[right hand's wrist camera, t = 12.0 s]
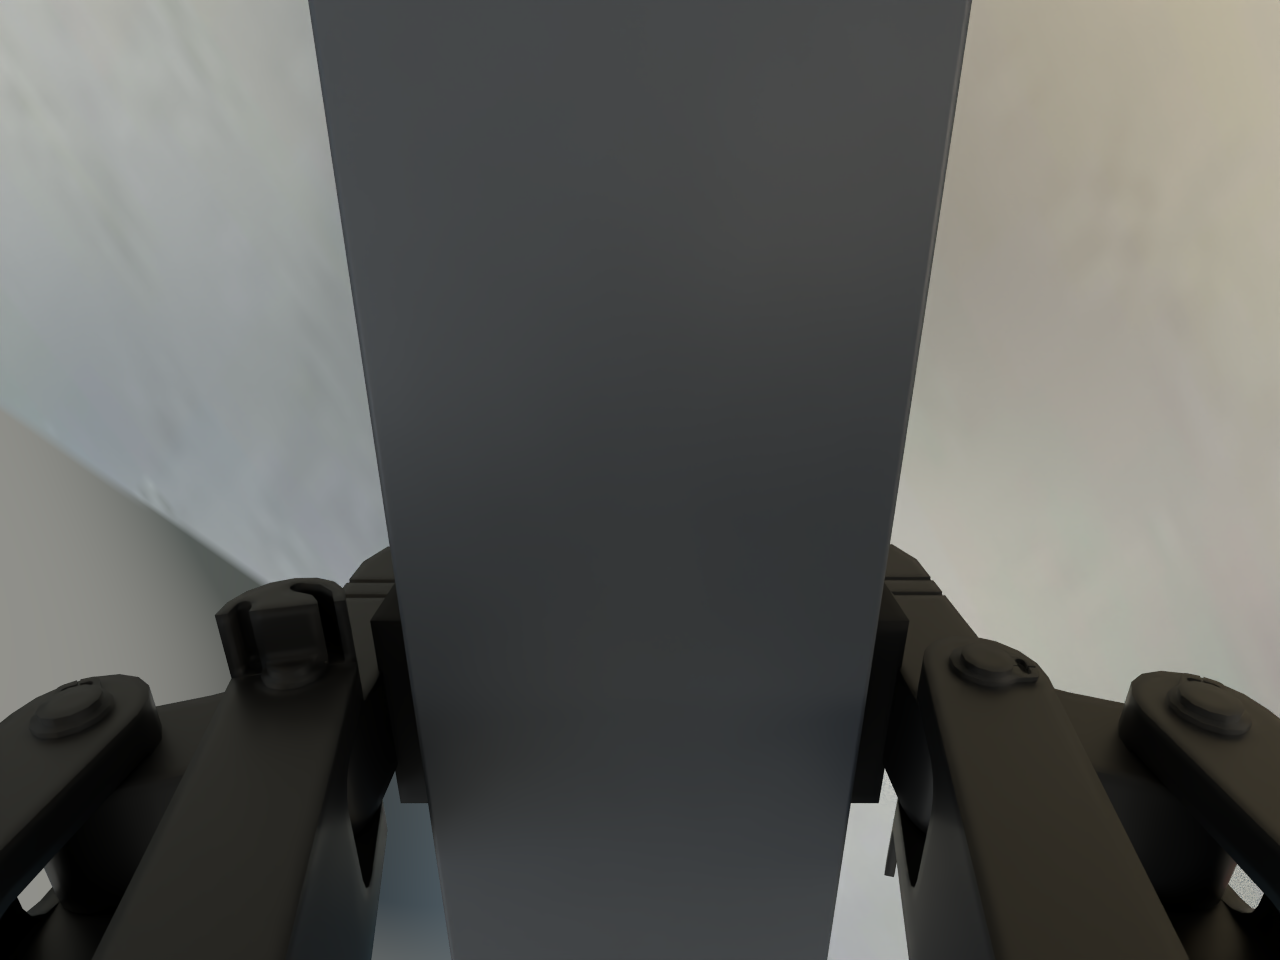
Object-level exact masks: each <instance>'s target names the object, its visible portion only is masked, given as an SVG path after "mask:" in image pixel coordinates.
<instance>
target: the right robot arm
mask: <svg viewBox="0 0 1280 960" xmlns="http://www.w3.org/2000/svg"><path fill="white" fill-rule="evenodd" d="M215 618H216V621H217V625H218V629H219V633H220V636H221V640H222V644H223V648H224V652H225V655H226V659H227V663H228V666H229V670H230V674H231V678H232V679H231V681H230V683H229V685H228V687H227V689H226V691H225V692H223V693H219V694H215V695H211V696H207V697H202V698H197V699H191V700H187V701H181V702H177V703H171V704H166V705H162V706H155V703H154V700H153V697H152V693H151V690H150V687H149V685H148V684H146V683H145V682H144V681H143V680H142V679H140V678H139V677H134V676H127V675H121V674H117V675H108V676H98V677H90V678H85V679H81V680H80V681H78V682H77V681H74V682H71V683H67V684H64V685H62V686H60V687H58V688H57V689H55V690H53V691H51V692H48V693H46V694H44V695H42V696H39V697H37V698H35V699H34V700H32V701H31V702H29V703H28V704H26V705H24V706H23V707H21V708H20V709H18V710H17V711H15V712H14V713H12V714H11V715H9V716H8V717H7V718H6V719H4V720H3V721H2V722H1V723H0V960H371V957H372V949H373V941H374V933H375V925H376V917H377V909H378V901H379V893H380V885H381V877H382V869H383V861H384V853H385V846H386V837H387V824H386V816H385V811H384V805H383V800H382V799H383V797H384V795H385V793H386V790H387V788H388V786H389V783H390V781H391V779H392V777H393V774H394V772H396V777H397V783H398V789H399V795H400V801H401V803H428V798H427V792H426V785H425V778H424V772H423V765H422V758H421V752H420V745H419V738H418V731H417V725H416V718H415V711H414V705H413V698H412V691H411V685H410V678H409V671H408V665H407V658H406V651H405V644H404V638H403V631H402V624H401V618H400V611H399V604H398V598H397V591H396V584H395V578H394V571H393V564H392V557H391V551H390V547H386V548H385V549H383V550H382V551H380V552H378V553H377V554H375V555H373V556H372V557H370V558H369V559H367V560H365V561H364V562H363V563H362V564H361V565H360V567H359V568H358V569H357V570H356V572H355V573H354V574H353V576H352V577H351V578H350V582H349V583H346V585H345V586H344V587H343V588H342V587H341V586H339V585H338V584H337V583H335V582H333V581H329V580H324V579H320V578H294V579H288V580H283V581H278V582H272V583H269V584H266V585H263V586H260V587H257V588H255V589H252V590H249V591H246V592H245V593H243V594H241V595H240V596H238V597H236V598H234V599H232V600H231V601H229V602H227V603H226V604H225V605H224V606H223V607H222V608H221V609H220V611H218V612H217V614H216V615H215ZM884 769H886V772H887V774H888V776H889V779H890V781H891V783H892V785H893V788H894V790H895V792H896V795H897V797H898V800H897V805H896V811H895V816H894V822H893V827H892V833H891V838H890V844H889V849H888V855H887V860H886V867H885V875H886V876H891V877H894V874H895V868H896V863H897V868H898V876H899V884H900V892H901V900H902V908H903V916H904V924H905V931H906V939H907V947H908V955H909V960H1280V718H1278V717H1277V716H1276V715H1274V714H1273V713H1272V712H1271V711H1269V710H1268V709H1266V708H1265V707H1263V706H1262V705H1260V704H1259V703H1257V702H1255V701H1254V700H1252V699H1251V698H1249V697H1248V696H1246V695H1245V694H1242V693H1240V692H1238V691H1235V690H1233V689H1231V688H1229V687H1226V686H1224V685H1223V684H1221V683H1220V682H1217V681H1214V680H1211V679H1208V678H1205V677H1204V678H1200V676H1197V675H1192V674H1188V673H1176V672H1166V671H1157V672H1151V673H1144V674H1141V675H1140V676H1139V677H1137V678H1136V679H1135V680H1133V681H1132V682H1131V685H1130V688H1129V691H1128V695H1127V698H1126V701H1125V703H1120V702H1114V701H1109V700H1104V699H1099V698H1094V697H1089V696H1084V695H1079V694H1074V693H1069V692H1065V691H1061V690H1057V689H1054V687H1053V685H1052V683H1051V681H1050V679H1049V677H1048V676H1047V675H1046V674H1045V672H1044V671H1043V670H1042V669H1041V668H1040V666H1039V665H1038V664H1037V663H1036V662H1034V661H1033V660H1031V659H1030V658H1028V657H1027V656H1025V655H1024V654H1022V653H1021V652H1020V651H1018V650H1015V649H1013V648H1011V647H1008V646H1006V645H1003V644H1001V643H998V642H996V641H991V640H987V639H982V638H978V637H977V635H976V634H975V633H974V632H973V630H972V629H971V628H970V626H969V625H968V624H967V623H966V621H965V620H964V619H963V618H962V616H961V615H960V614H959V612H958V611H957V610H956V609H955V607H954V606H953V605H952V604H951V602H950V601H949V600H948V599H947V597H946V596H945V595H942V591H941V590H940V588H939V587H938V586H937V585H936V583H935V582H934V581H933V580H930V576H929V574H928V573H927V572H926V571H925V569H924V568H923V567H922V566H921V564H920V563H919V562H918V561H917V559H915V558H914V557H912V556H910V555H909V554H907V553H905V552H904V551H902V550H900V549H899V548H897V547H896V546H894V545H892V544H890V546H889V553H888V559H887V566H886V573H885V579H884V586H883V593H882V599H881V606H880V612H879V619H878V626H877V632H876V639H875V646H874V652H873V659H872V665H871V672H870V679H869V685H868V692H867V698H866V705H865V712H864V718H863V725H862V732H861V738H860V745H859V751H858V758H857V765H856V771H855V778H854V785H853V791H852V798H851V803H879V798H880V792H881V786H882V780H883V775H884ZM1237 864H1238V865H1239V866H1240V868H1241V869H1242V870H1243V871H1244V872H1245V873H1246V874H1247V875H1248V876H1249V877H1250V878H1251V879H1252V881H1253V882H1254V883H1255V884H1256V885H1257V886H1258V887H1259V888H1260V889H1261V890H1262V891H1263V893H1264V894H1263V896H1262V899H1261V901H1260V903H1259V905H1258V906H1257V907H1256V908H1255V909H1253V908H1251V907H1250V906H1249V905H1248V904H1247V903H1245V902H1244V901H1243V900H1242V899H1241V898H1240V897H1239V896H1238V895H1237V894H1236V892H1235V891H1234V890H1233V889H1232V888H1231V887H1230V886H1229V884H1228V883H1229V881H1230V879H1231V876H1232V874H1233V872H1234V870H1235V867H1236V865H1237ZM43 868H44V869H45V871H46V873H47V876H48V878H49V880H50V882H51V885H52V888H51V889H50V890H49V892H48V893H47V894H46V895H45V896H44V897H43V898H42V900H41V901H40V902H38V903H37V904H36V905H35V906H34V907H32V908H31V909H30V910H29V911H27V912H26V911H25V910H23V909H22V907H21V904H20V902H19V900H18V898H17V896H18V895H19V894H20V893H21V892H22V891H23V890H24V889H25V888H26V887H27V885H28V884H29V883H30V882H31V881H32V880H33V879H34V878H35V877H36V876H37V874H38V873H39V872H40V871H41V870H42V869H43Z"/></svg>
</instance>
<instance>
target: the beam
mask: <svg viewBox="0 0 1280 960" xmlns="http://www.w3.org/2000/svg"><path fill="white" fill-rule="evenodd" d="M308 2H309V9H310V15H311V22H312V29H313V35H314V42H315V49H316V55H317V62H318V69H319V76H320V82H321V89H322V96H323V102H324V109H325V116H326V122H327V129H328V136H329V142H330V149H331V156H332V163H333V169H334V176H335V183H336V189H337V196H338V203H339V209H340V216H341V223H342V230H343V236H344V243H345V250H346V256H347V263H348V270H349V276H350V283H351V290H352V296H353V303H354V310H355V317H356V323H357V330H358V337H359V343H360V350H361V357H362V363H363V370H364V377H365V383H366V390H367V397H368V404H369V410H370V417H371V424H372V430H373V437H374V444H375V450H376V457H377V464H378V470H379V477H380V484H381V491H382V497H383V504H384V511H385V517H386V524H387V531H388V537H389V544H390V551H391V557H392V564H393V571H394V578H395V584H396V591H397V598H398V604H399V611H400V618H401V624H402V631H403V638H404V644H405V651H406V658H407V665H408V671H409V678H410V685H411V691H412V698H413V705H414V711H415V718H416V725H417V731H418V738H419V745H420V752H421V758H422V765H423V772H424V778H425V785H426V792H427V798H428V805H429V812H430V818H431V825H432V832H433V839H434V845H435V852H436V859H437V865H438V872H439V879H440V885H441V892H442V899H443V905H444V912H445V919H446V926H447V932H448V939H449V946H450V952H451V959H452V960H827V957H828V950H829V943H830V937H831V930H832V924H833V917H834V910H835V904H836V897H837V890H838V884H839V877H840V871H841V864H842V857H843V851H844V844H845V838H846V831H847V824H848V818H849V811H850V804H851V798H852V791H853V785H854V778H855V771H856V765H857V758H858V751H859V745H860V738H861V732H862V725H863V718H864V712H865V705H866V698H867V692H868V685H869V679H870V672H871V665H872V659H873V652H874V646H875V639H876V632H877V626H878V619H879V612H880V606H881V599H882V593H883V586H884V579H885V573H886V566H887V559H888V553H889V546H890V540H891V533H892V526H893V520H894V513H895V506H896V500H897V493H898V487H899V480H900V473H901V467H902V460H903V453H904V447H905V440H906V434H907V427H908V420H909V414H910V407H911V401H912V394H913V387H914V381H915V374H916V367H917V361H918V354H919V348H920V341H921V334H922V328H923V321H924V314H925V308H926V301H927V295H928V288H929V281H930V275H931V268H932V261H933V255H934V248H935V242H936V235H937V228H938V222H939V215H940V209H941V202H942V195H943V189H944V182H945V175H946V169H947V162H948V156H949V149H950V142H951V136H952V129H953V122H954V116H955V109H956V103H957V96H958V89H959V83H960V76H961V69H962V63H963V56H964V50H965V43H966V36H967V30H968V23H969V17H970V10H971V3H972V0H308Z"/></svg>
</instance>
